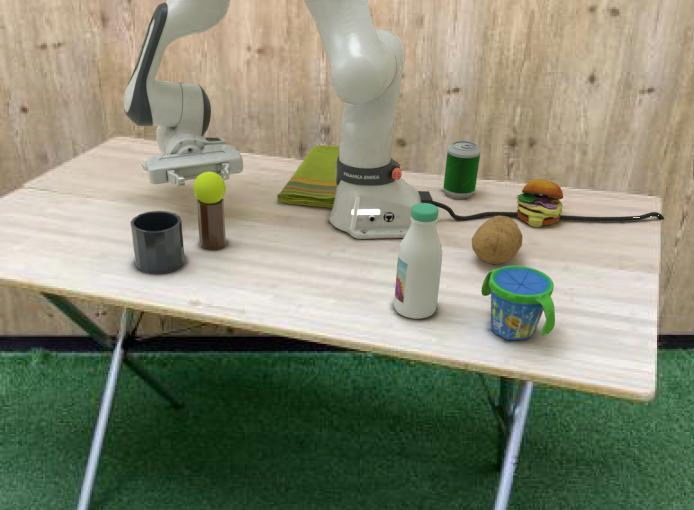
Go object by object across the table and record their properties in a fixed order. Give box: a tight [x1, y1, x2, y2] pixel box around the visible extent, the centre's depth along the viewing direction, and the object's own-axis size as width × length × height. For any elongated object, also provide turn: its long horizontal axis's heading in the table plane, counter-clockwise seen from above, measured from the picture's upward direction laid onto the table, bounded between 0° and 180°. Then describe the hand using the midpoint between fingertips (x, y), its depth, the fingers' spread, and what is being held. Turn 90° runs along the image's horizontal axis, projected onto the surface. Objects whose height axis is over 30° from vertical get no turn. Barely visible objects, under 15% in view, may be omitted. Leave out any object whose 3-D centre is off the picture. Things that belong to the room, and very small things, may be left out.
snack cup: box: [481, 265, 556, 341], centre depth 135 cm, size 16×10×10 cm
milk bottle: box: [393, 203, 443, 320], centre depth 138 cm, size 8×8×20 cm
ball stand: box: [196, 197, 227, 251], centre depth 161 cm, size 5×5×10 cm
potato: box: [471, 215, 523, 265], centre depth 158 cm, size 10×14×8 cm
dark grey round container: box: [130, 210, 186, 275], centre depth 155 cm, size 10×10×9 cm
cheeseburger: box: [515, 178, 564, 228], centre depth 175 cm, size 10×11×10 cm
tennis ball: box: [192, 172, 227, 204], centre depth 157 cm, size 6×6×6 cm
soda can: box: [442, 140, 481, 200], centre depth 184 cm, size 8×8×12 cm
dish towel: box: [276, 144, 339, 209], centre depth 193 cm, size 15×36×3 cm, turn 166°
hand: (203, 179), depth 161 cm, fingers open, 8 cm apart
